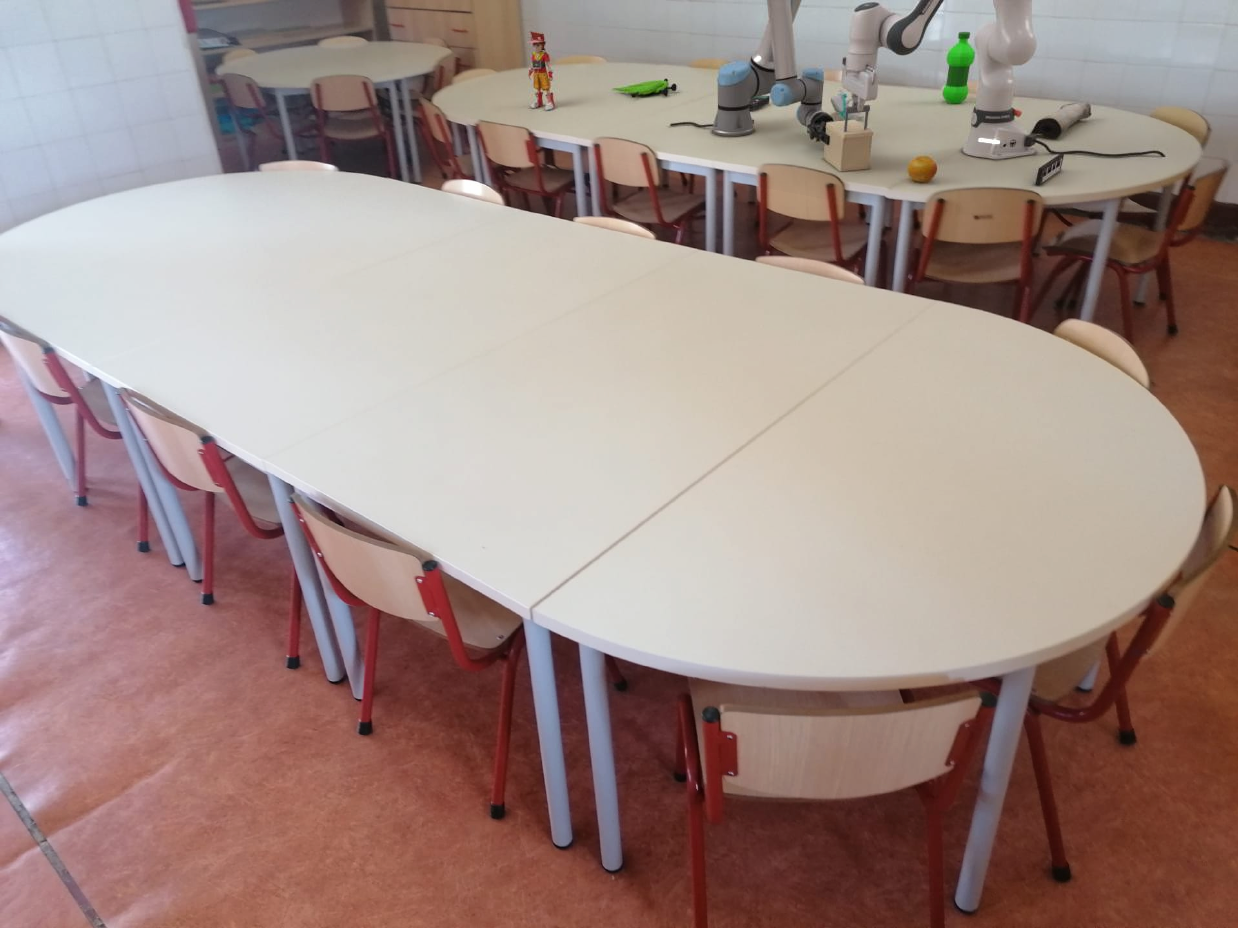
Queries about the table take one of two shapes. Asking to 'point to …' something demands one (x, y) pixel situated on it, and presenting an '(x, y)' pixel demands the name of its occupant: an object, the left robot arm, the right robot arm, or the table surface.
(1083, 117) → the rolled mat
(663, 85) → the toy
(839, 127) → the lid
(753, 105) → the disk drive
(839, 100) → the anatomical model
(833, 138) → the chest
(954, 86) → the plastic bottle
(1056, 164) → the midi keyboard
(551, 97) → the toy
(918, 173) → the fruit
